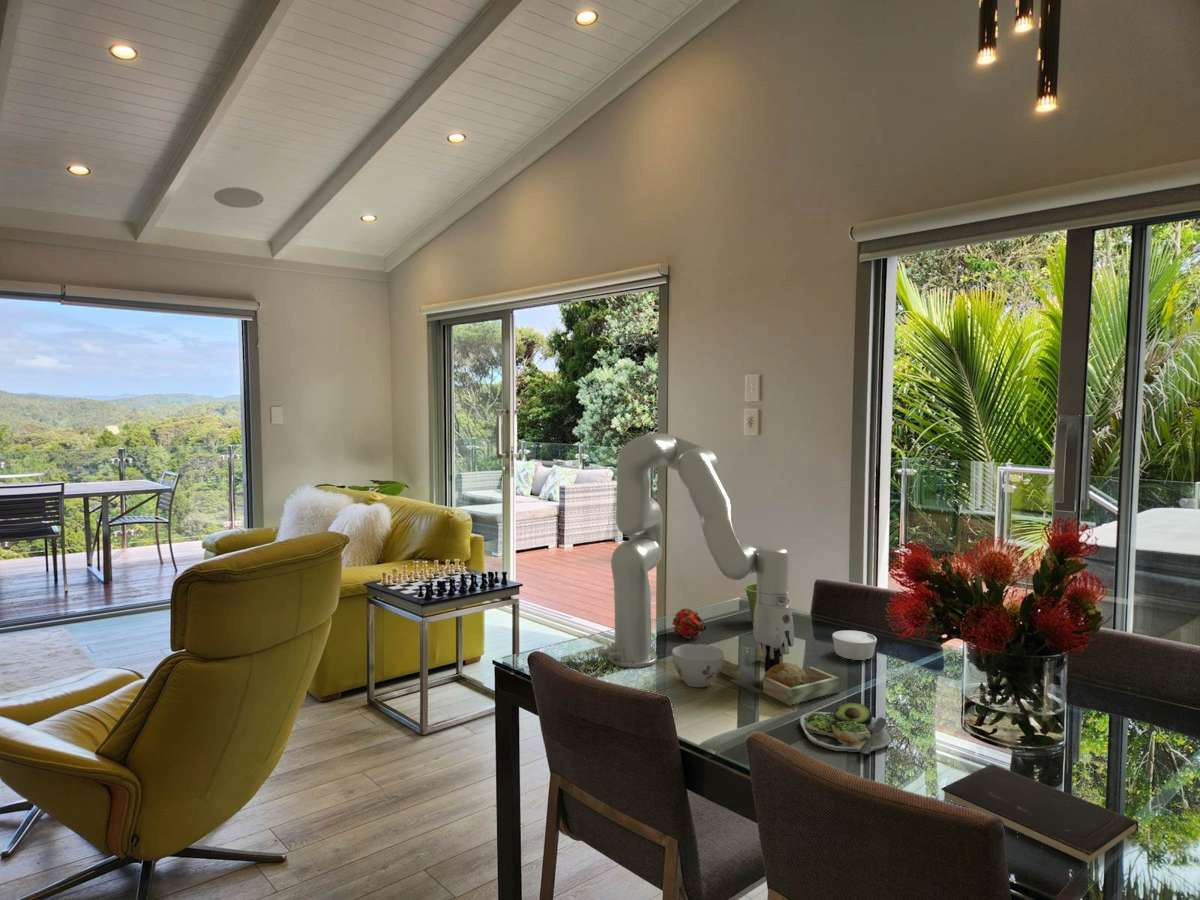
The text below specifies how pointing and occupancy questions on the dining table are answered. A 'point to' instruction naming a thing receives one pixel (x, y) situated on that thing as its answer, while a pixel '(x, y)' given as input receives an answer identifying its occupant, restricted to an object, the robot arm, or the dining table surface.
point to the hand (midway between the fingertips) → (772, 672)
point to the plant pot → (751, 597)
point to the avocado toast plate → (848, 727)
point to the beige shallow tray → (817, 687)
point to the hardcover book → (1042, 812)
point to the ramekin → (854, 644)
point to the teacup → (698, 663)
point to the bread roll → (787, 674)
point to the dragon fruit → (688, 623)
